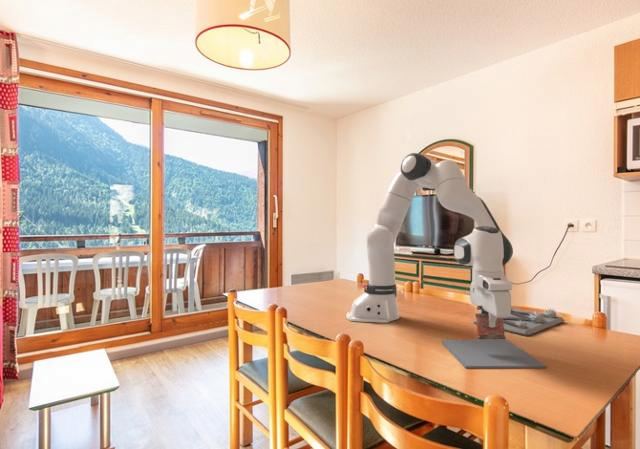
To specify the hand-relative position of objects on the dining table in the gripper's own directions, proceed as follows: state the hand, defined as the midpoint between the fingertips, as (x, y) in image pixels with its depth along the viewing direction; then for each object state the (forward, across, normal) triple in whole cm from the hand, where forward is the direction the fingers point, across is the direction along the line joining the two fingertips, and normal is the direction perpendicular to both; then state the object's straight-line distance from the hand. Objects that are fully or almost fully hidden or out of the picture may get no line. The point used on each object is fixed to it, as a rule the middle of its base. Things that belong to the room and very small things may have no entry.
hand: (488, 324), depth 110 cm
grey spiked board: (+10, -33, +26) cm, 43 cm away
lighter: (+4, +2, 0) cm, 4 cm away
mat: (+9, 0, 0) cm, 9 cm away
